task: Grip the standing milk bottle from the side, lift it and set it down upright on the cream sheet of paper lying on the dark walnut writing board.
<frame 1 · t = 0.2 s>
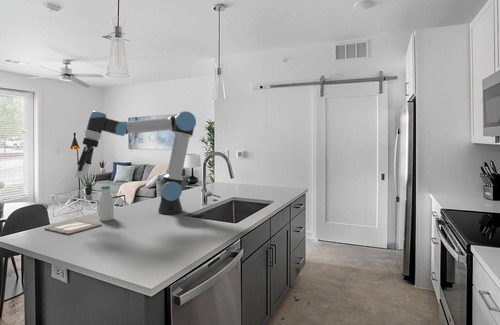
hand: (81, 175, 162), 27 cm above the worktop, tool tilted 15°, fingers open, 13 cm apart
milk bottle: (106, 220, 172), on the worktop
writing board: (73, 227, 155), on the worktop
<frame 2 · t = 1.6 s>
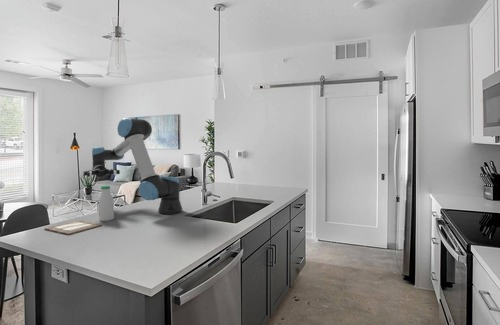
hand: (103, 173, 178), 26 cm above the worktop, tool horizontal, fingers open, 13 cm apart
nothing on the worktop moved.
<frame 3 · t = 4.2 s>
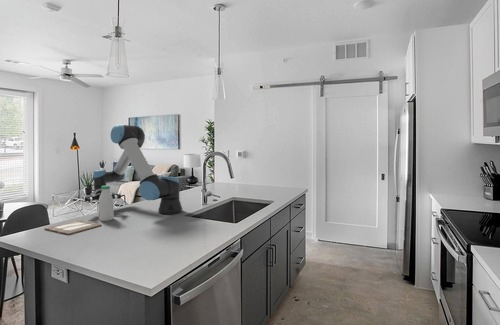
hand: (104, 200, 175), 11 cm above the worktop, tool horizontal, fingers open, 13 cm apart
nothing on the worktop moved.
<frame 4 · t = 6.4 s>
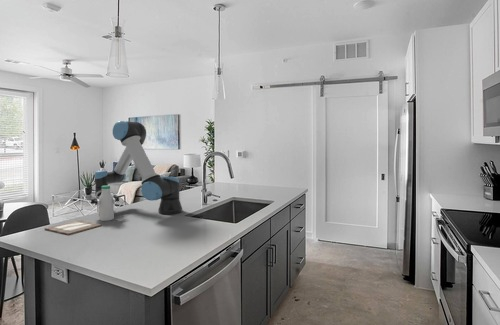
hand: (106, 202, 167), 11 cm above the worktop, tool horizontal, fingers closed on milk bottle, 7 cm apart
milk bottle: (106, 219, 172), on the worktop, touching gripper
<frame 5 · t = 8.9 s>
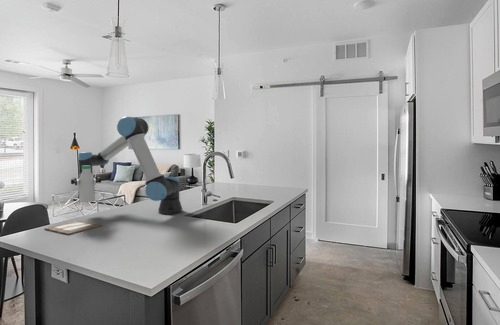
hand: (86, 182, 158), 23 cm above the worktop, tool horizontal, fingers closed on milk bottle, 7 cm apart
milk bottle: (87, 201, 163), point 12 cm above the worktop, touching gripper
when the fingers open (13 cm above the worktop, at t = 11.7 s): milk bottle drops 1 cm, resting on writing board.
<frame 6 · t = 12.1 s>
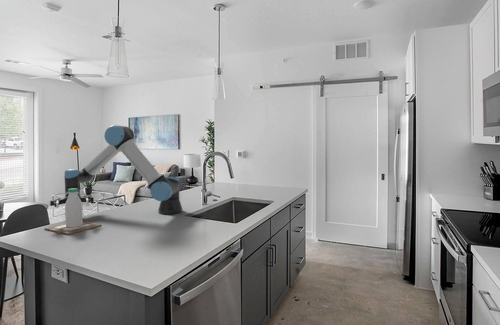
hand: (72, 203, 152), 13 cm above the worktop, tool horizontal, fingers open, 13 cm apart
milk bottle: (74, 226, 156), point 1 cm above the worktop, touching writing board
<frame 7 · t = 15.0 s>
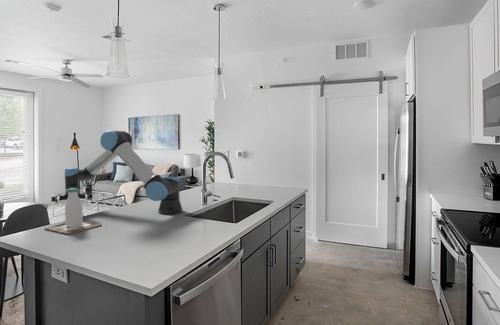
hand: (72, 199, 162), 13 cm above the worktop, tool horizontal, fingers open, 13 cm apart
nothing on the worktop moved.
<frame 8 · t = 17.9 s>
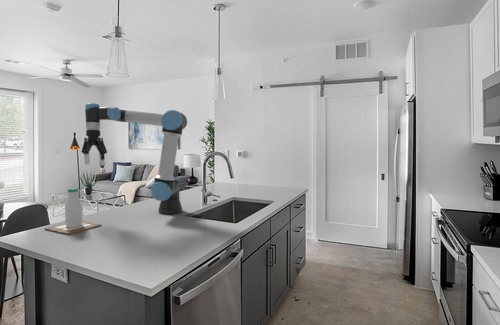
hand: (94, 165, 177), 32 cm above the worktop, tool pointing down, fingers open, 13 cm apart
nothing on the worktop moved.
at the end: milk bottle inside the target area on the writing board (0.3 cm from its centre), point 0.7 cm above the writing board's base; milk bottle tilted 0°; the gripper is holding nothing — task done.
